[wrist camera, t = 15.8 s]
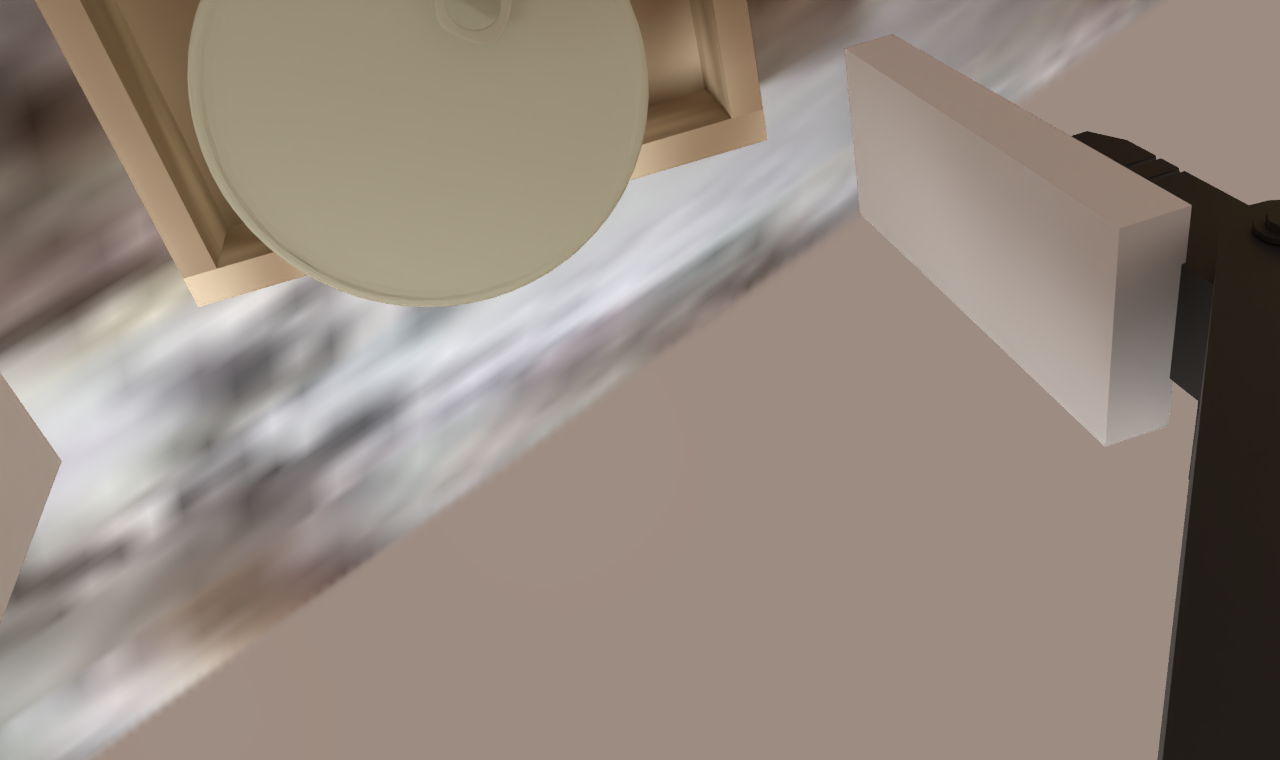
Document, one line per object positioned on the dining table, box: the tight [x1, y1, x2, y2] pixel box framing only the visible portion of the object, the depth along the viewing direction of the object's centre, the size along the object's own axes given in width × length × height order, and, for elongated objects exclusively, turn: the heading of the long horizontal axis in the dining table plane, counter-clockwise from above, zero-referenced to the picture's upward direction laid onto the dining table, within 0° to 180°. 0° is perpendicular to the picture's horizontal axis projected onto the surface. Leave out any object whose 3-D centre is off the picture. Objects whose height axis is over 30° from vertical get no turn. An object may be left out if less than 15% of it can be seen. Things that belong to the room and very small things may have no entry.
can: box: [187, 0, 649, 307], centre depth 25 cm, size 9×9×12 cm
